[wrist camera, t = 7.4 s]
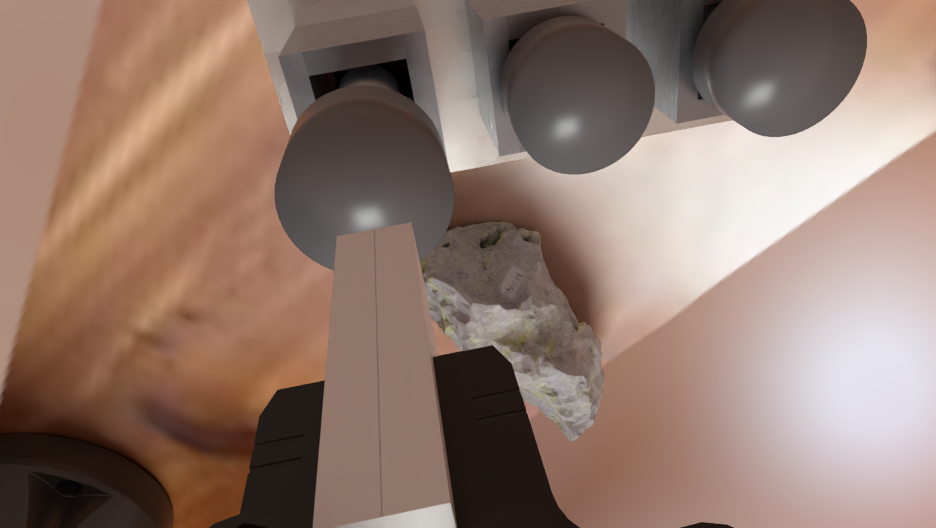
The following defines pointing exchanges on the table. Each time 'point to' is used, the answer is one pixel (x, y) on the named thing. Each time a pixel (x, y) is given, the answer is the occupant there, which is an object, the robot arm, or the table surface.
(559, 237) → the table surface
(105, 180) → the table surface
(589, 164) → the knob
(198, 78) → the table surface
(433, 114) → the square socket rack
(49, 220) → the table surface
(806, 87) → the knob
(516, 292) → the rock
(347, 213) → the knob
